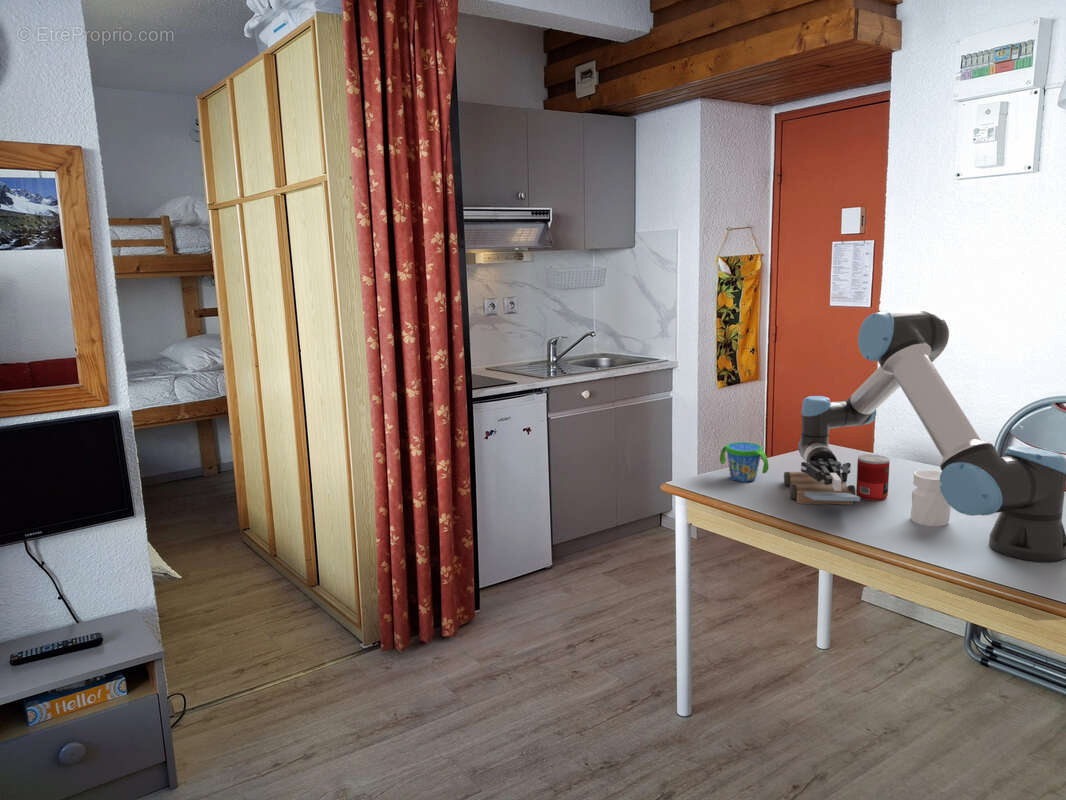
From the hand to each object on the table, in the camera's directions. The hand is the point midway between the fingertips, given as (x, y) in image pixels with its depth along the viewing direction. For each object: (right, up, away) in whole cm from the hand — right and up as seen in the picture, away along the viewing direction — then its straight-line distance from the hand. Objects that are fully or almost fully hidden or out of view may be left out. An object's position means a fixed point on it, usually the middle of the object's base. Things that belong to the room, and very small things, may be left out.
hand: (838, 485), depth 195 cm
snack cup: (-12, -3, +41) cm, 43 cm away
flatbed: (+5, -5, +27) cm, 27 cm away
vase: (+24, -9, +2) cm, 25 cm away
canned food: (+18, -6, +22) cm, 28 cm away
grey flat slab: (+3, -4, +15) cm, 16 cm away
